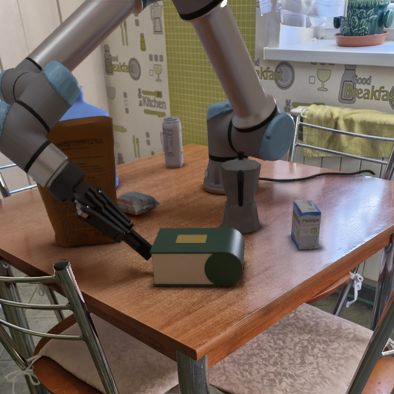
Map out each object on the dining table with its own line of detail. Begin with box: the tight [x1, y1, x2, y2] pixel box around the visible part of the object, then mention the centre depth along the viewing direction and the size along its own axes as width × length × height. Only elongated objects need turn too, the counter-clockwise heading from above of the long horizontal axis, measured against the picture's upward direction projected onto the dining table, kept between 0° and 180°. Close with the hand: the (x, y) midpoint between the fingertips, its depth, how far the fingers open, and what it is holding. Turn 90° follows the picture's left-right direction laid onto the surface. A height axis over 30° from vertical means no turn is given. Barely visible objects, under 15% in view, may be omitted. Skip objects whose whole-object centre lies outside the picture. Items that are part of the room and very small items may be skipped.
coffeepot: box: [220, 151, 262, 235], centre depth 121 cm, size 15×9×18 cm, turn 176°
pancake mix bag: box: [35, 116, 118, 248], centre depth 116 cm, size 7×19×28 cm, turn 96°
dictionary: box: [150, 227, 246, 288], centre depth 106 cm, size 18×12×8 cm, turn 84°
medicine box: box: [290, 199, 322, 251], centre depth 115 cm, size 8×4×9 cm, turn 5°
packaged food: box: [117, 190, 161, 216], centre depth 138 cm, size 9×12×5 cm
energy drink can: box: [161, 115, 184, 169], centre depth 169 cm, size 6×6×15 cm
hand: (151, 255), depth 107 cm, fingers closed
